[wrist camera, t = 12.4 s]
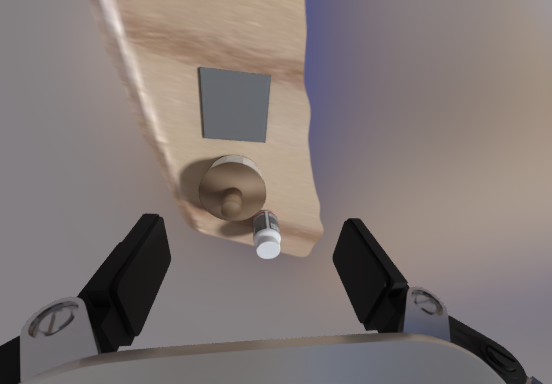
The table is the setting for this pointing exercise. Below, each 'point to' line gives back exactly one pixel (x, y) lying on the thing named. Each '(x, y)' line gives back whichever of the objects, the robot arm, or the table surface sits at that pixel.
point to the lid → (232, 191)
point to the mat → (234, 104)
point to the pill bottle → (266, 234)
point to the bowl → (237, 159)
